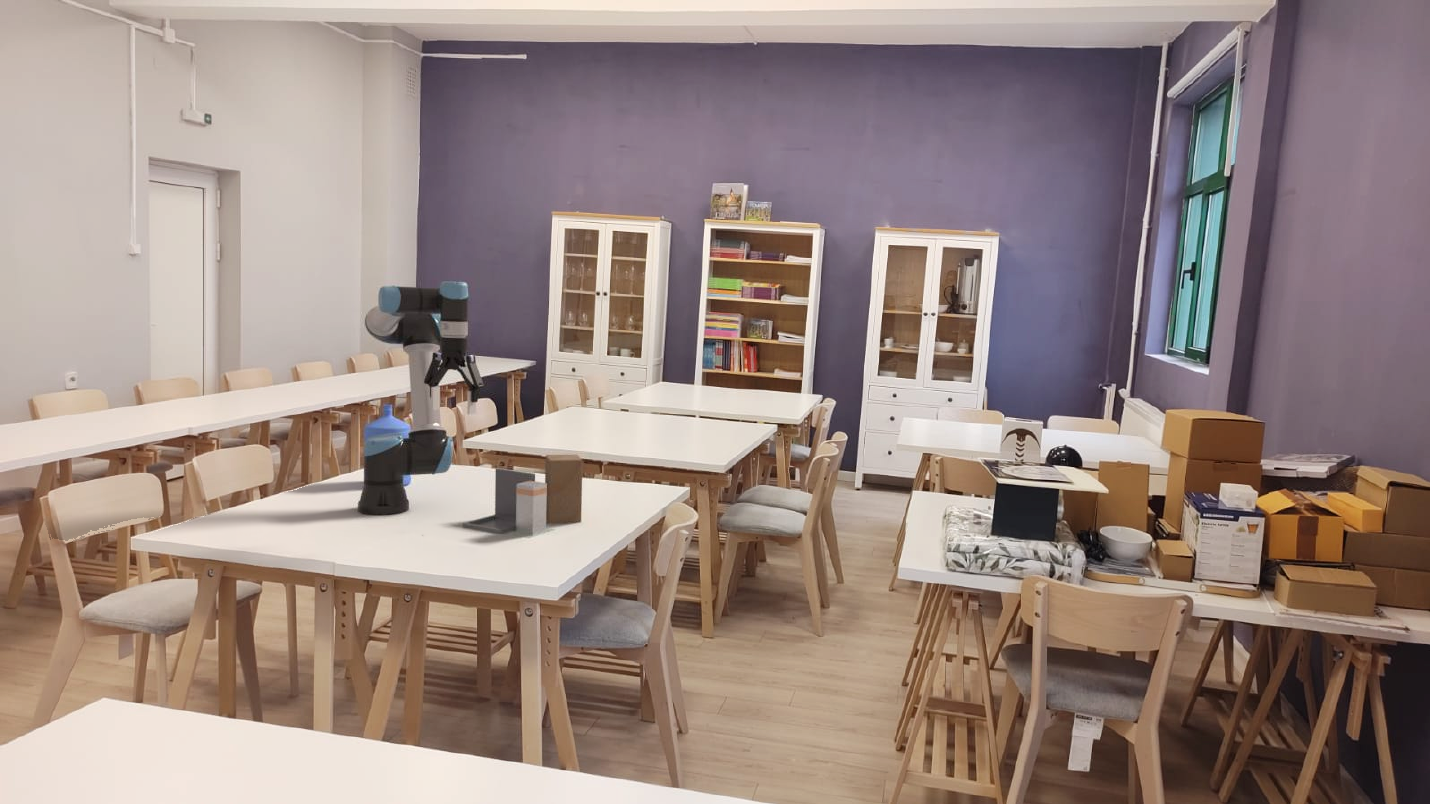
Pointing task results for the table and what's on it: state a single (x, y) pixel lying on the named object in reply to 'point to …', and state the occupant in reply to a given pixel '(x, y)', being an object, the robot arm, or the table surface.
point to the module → (531, 507)
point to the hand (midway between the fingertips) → (453, 411)
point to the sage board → (529, 535)
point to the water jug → (388, 429)
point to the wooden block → (563, 488)
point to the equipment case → (502, 502)
